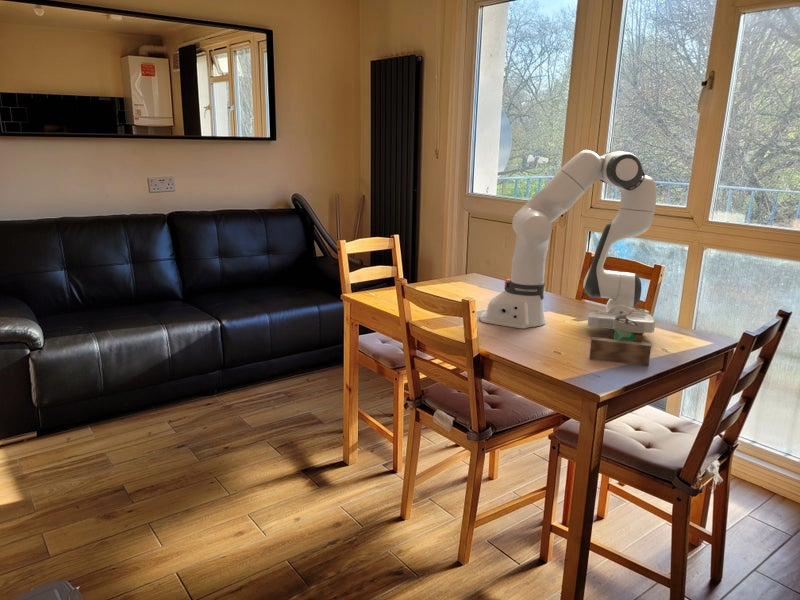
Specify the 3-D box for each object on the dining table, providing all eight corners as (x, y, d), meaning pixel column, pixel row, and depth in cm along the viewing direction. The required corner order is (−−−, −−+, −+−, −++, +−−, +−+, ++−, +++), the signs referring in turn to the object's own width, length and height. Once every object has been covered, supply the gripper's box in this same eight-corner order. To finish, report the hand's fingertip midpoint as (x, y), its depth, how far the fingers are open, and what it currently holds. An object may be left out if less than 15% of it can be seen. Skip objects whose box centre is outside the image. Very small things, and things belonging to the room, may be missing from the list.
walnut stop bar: (589, 359, 174) (591, 339, 173) (589, 356, 177) (591, 337, 175) (648, 366, 170) (651, 345, 168) (647, 363, 172) (650, 343, 171)
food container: (602, 345, 187) (606, 314, 184) (621, 345, 187) (625, 314, 185) (620, 359, 175) (624, 326, 172) (641, 359, 175) (645, 326, 173)
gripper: (588, 305, 201) (587, 316, 189) (653, 310, 195) (657, 322, 183) (586, 323, 203) (585, 335, 190) (651, 329, 197) (655, 342, 184)
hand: (621, 329), depth 186 cm, fingers closed
